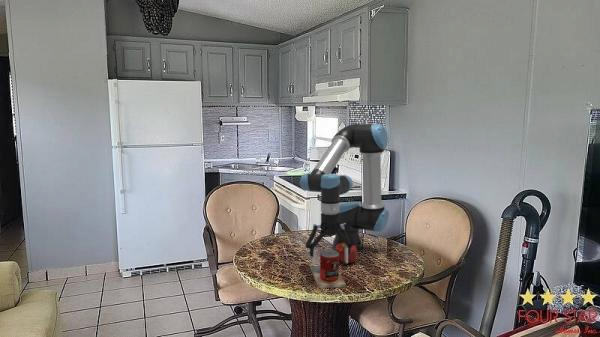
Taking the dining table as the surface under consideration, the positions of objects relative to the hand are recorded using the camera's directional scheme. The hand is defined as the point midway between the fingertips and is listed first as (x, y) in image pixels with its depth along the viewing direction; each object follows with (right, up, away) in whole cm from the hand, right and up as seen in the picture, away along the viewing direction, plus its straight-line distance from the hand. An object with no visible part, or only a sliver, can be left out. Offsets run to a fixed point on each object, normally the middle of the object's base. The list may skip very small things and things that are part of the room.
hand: (330, 263), depth 174 cm
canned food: (0, -7, 0) cm, 7 cm away
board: (-1, -7, +6) cm, 10 cm away
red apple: (+9, -5, +24) cm, 27 cm away
